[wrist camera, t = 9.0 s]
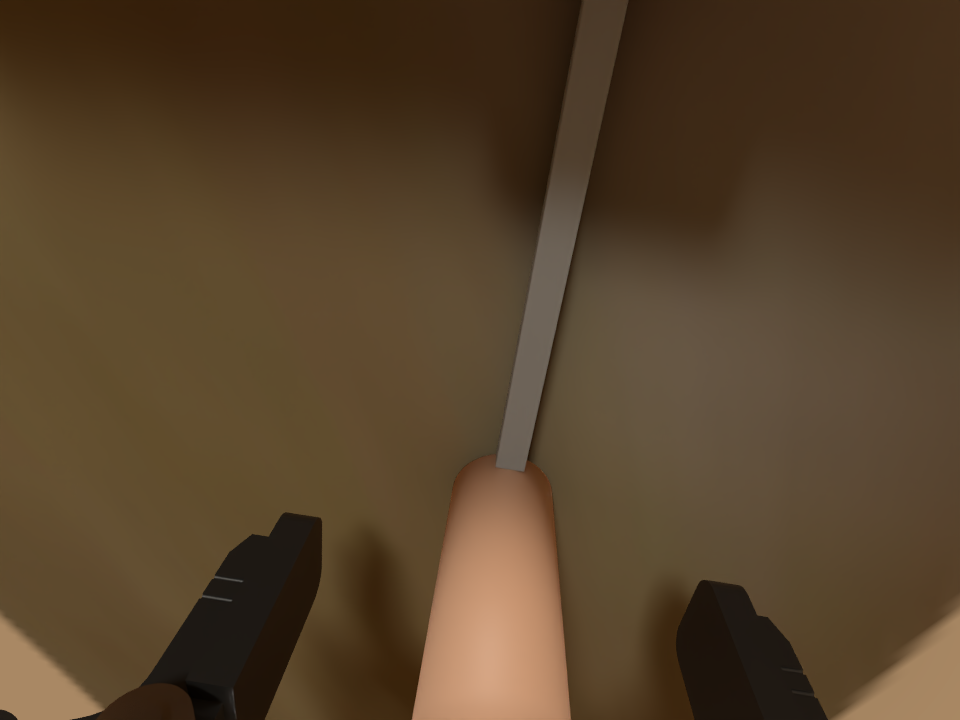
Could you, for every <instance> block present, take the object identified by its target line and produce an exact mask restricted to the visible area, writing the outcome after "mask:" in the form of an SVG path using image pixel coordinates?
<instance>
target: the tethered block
mask: <svg viewBox="0 0 960 720" xmlns="http://www.w3.org/2000/svg"><path fill="white" fill-rule="evenodd" d="M628 1H629V0H582V3H581V8H580V13H579V19H578V24H577V29H576V34H575V40H574V45H573V50H572V56H571V61H570V66H569V71H568V77H567V82H566V87H565V93H564V98H563V103H562V109H561V114H560V119H559V124H558V130H557V135H556V140H555V146H554V151H553V156H552V161H551V167H550V172H549V177H548V183H547V188H546V193H545V198H544V204H543V209H542V214H541V220H540V225H539V230H538V235H537V241H536V246H535V251H534V257H533V262H532V267H531V273H530V278H529V283H528V288H527V294H526V299H525V304H524V310H523V315H522V320H521V325H520V331H519V336H518V341H517V347H516V352H515V357H514V362H513V368H512V373H511V378H510V384H509V389H508V394H507V399H506V405H505V410H504V415H503V421H502V426H501V431H500V436H499V442H498V447H497V452H496V454H493V455H487V456H483V457H480V458H478V459H476V460H474V461H472V462H470V463H469V464H467V465H466V466H465V467H464V468H463V469H462V470H461V471H460V472H459V474H458V475H457V477H456V479H455V481H454V485H453V490H452V495H451V501H450V507H449V512H448V518H447V524H446V529H445V535H444V541H443V546H442V552H441V558H440V563H439V569H438V575H437V580H436V586H435V592H434V597H433V603H432V609H431V614H430V620H429V626H428V631H427V637H426V643H425V648H424V654H423V660H422V666H421V671H420V677H419V683H418V688H417V694H416V700H415V705H414V711H413V717H412V720H571V715H570V703H569V691H568V679H567V667H566V655H565V643H564V630H563V618H562V606H561V594H560V582H559V570H558V558H557V546H556V534H555V522H554V510H553V498H552V489H551V485H550V482H549V480H548V478H547V477H546V475H545V474H544V473H543V472H542V470H541V469H540V468H538V467H537V466H536V465H535V464H533V463H531V462H530V461H528V460H527V457H528V452H529V448H530V443H531V439H532V434H533V430H534V425H535V421H536V416H537V412H538V407H539V403H540V398H541V394H542V389H543V385H544V380H545V376H546V371H547V367H548V362H549V358H550V353H551V349H552V344H553V339H554V335H555V330H556V326H557V321H558V317H559V312H560V308H561V303H562V299H563V294H564V290H565V285H566V281H567V276H568V272H569V267H570V263H571V258H572V254H573V249H574V245H575V240H576V236H577V231H578V227H579V222H580V218H581V213H582V208H583V204H584V199H585V195H586V190H587V186H588V181H589V177H590V172H591V168H592V163H593V159H594V154H595V150H596V145H597V141H598V136H599V132H600V127H601V123H602V118H603V114H604V109H605V105H606V100H607V96H608V91H609V87H610V82H611V77H612V73H613V68H614V64H615V59H616V55H617V50H618V46H619V41H620V37H621V32H622V28H623V23H624V19H625V14H626V10H627V5H628Z"/></svg>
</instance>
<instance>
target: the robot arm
mask: <svg viewBox="0 0 960 720" xmlns="http://www.w3.org/2000/svg"><path fill="white" fill-rule="evenodd" d="M321 569H322V520H321V518H318V517H312V516H306V515H299V514H293V513H287V512H285V513H284V514H282V516H281V517H280V518H279V520H278V522H277V523H276V525H275V527H274V529H273V530H272V532H271V534H270V536H269V537H267V536H260V535H254V534H252V535H251V536H249V537H248V538H247V539H246V540H244V541H243V542H242V543H240V544H239V545H238V546H237V547H235V548H234V549H233V550H232V551H230V552H229V554H228V555H227V557H226V558H225V560H224V562H223V563H222V565H221V566H220V568H219V569H218V571H217V572H216V574H215V577H214V579H212V580H211V582H210V583H209V585H208V586H207V588H206V589H205V591H204V592H203V595H202V598H201V599H200V598H199V600H198V602H197V603H196V605H195V606H194V608H193V609H192V611H191V612H190V614H189V615H188V617H187V619H186V620H185V622H184V623H183V625H182V626H181V628H180V629H179V631H178V632H177V634H176V635H175V637H174V639H173V640H172V642H171V643H170V645H169V646H168V648H167V649H166V651H165V652H164V654H163V656H162V657H161V659H160V660H159V662H158V663H157V665H156V666H155V668H154V669H153V671H152V672H151V674H150V675H149V676H148V678H147V679H146V680H145V681H144V682H143V683H142V684H141V686H140V687H139V688H136V689H134V690H132V691H130V692H127V693H126V694H124V695H123V696H121V697H119V698H118V699H117V700H115V701H114V702H113V703H111V704H110V705H109V706H108V707H107V708H106V709H105V710H104V711H102V712H99V713H96V714H93V715H91V716H86V717H82V718H78V719H72V720H265V717H266V715H267V713H268V710H269V708H270V705H271V703H272V701H273V698H274V696H275V693H276V691H277V689H278V686H279V684H280V681H281V679H282V677H283V674H284V672H285V669H286V667H287V665H288V662H289V660H290V657H291V655H292V653H293V650H294V648H295V645H296V643H297V641H298V638H299V636H300V633H301V631H302V629H303V626H304V624H305V621H306V619H307V617H308V614H309V612H310V609H311V607H312V604H313V602H314V600H315V597H316V594H317V590H318V587H319V582H320V577H321ZM676 649H677V657H678V661H679V665H680V669H681V672H682V676H683V679H684V683H685V686H686V690H687V694H688V697H689V701H690V704H691V708H692V711H693V715H694V719H695V720H828V719H827V717H826V715H825V713H824V711H823V709H822V707H821V705H820V703H819V701H818V699H817V698H815V697H814V691H813V689H812V687H811V685H810V683H809V681H808V679H807V677H806V675H803V669H802V667H801V665H800V663H799V661H798V659H797V657H796V655H795V653H794V650H793V648H792V646H791V644H790V642H789V641H788V640H787V639H786V638H785V637H784V635H783V634H782V633H781V632H780V631H779V630H778V629H777V627H776V626H775V625H774V624H773V623H772V622H771V621H770V619H769V618H768V617H763V616H757V614H756V612H755V609H754V607H753V605H752V603H751V601H750V598H749V596H748V594H747V592H746V591H745V589H744V588H743V587H741V586H739V585H733V584H727V583H721V582H714V581H708V580H702V581H701V582H700V583H699V584H698V586H697V588H696V590H695V592H694V594H693V597H692V599H691V601H690V603H689V605H688V607H687V610H686V612H685V614H684V616H683V618H682V621H681V623H680V625H679V627H678V631H677V638H676ZM0 720H17V718H16V717H15V716H14V715H13V714H11V713H9V712H7V711H5V710H0Z"/></svg>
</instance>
